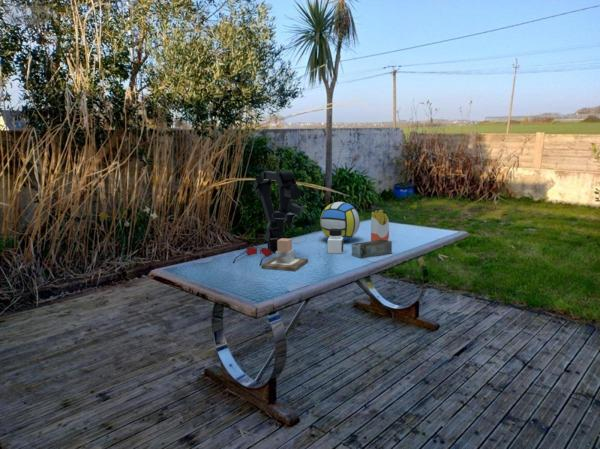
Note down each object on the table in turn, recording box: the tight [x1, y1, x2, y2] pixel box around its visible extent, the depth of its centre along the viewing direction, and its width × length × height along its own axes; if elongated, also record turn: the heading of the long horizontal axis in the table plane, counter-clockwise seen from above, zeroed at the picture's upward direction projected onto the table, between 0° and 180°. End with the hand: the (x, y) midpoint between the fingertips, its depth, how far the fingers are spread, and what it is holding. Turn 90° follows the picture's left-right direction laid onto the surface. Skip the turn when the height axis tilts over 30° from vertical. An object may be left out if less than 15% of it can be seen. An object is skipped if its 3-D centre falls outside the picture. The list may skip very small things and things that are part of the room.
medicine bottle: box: [327, 228, 344, 255], centre depth 213 cm, size 7×7×12 cm
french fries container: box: [370, 209, 390, 241], centre depth 229 cm, size 5×11×18 cm, turn 134°
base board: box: [260, 248, 309, 272], centre depth 191 cm, size 16×16×7 cm
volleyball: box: [319, 201, 361, 242], centre depth 238 cm, size 22×22×22 cm
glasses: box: [232, 246, 274, 266], centre depth 201 cm, size 14×16×5 cm
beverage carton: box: [351, 239, 393, 259], centre depth 207 cm, size 8×19×7 cm, turn 117°
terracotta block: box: [277, 237, 293, 252], centre depth 190 cm, size 5×5×5 cm
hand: (286, 230), depth 204 cm, fingers open, 9 cm apart
